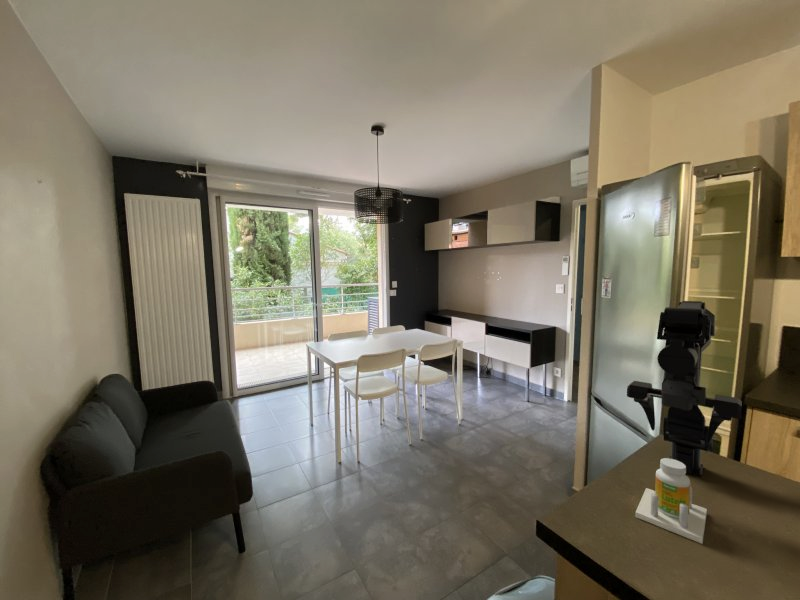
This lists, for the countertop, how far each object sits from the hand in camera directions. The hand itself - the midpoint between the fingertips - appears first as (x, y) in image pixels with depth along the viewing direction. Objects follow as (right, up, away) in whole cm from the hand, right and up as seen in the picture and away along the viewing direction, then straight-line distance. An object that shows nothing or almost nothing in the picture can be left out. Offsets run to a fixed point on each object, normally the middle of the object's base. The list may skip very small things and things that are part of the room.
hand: (679, 436), depth 74 cm
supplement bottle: (-6, -13, -6) cm, 15 cm away
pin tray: (-7, -13, -6) cm, 16 cm away
